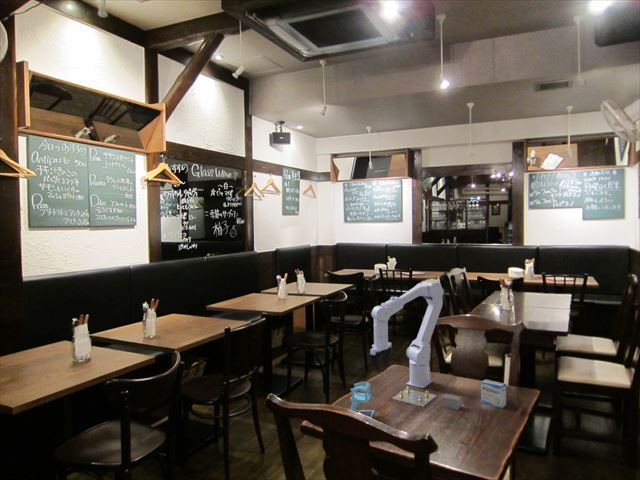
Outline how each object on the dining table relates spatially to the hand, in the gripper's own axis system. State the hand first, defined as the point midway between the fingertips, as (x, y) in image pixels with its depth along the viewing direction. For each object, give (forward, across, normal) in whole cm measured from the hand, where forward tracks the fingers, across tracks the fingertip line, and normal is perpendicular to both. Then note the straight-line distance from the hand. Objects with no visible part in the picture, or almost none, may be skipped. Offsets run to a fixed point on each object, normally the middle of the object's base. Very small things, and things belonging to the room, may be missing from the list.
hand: (381, 368), depth 181 cm
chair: (+10, +26, +6) cm, 28 cm away
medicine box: (+10, -10, +42) cm, 44 cm away
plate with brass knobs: (+9, +1, +15) cm, 18 cm away
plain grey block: (+10, +1, +30) cm, 32 cm away
